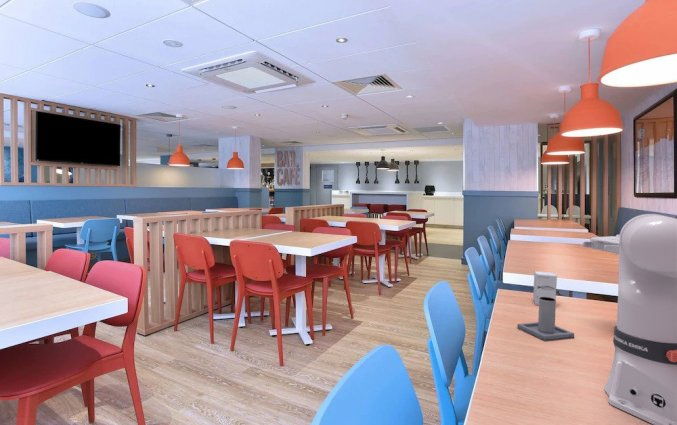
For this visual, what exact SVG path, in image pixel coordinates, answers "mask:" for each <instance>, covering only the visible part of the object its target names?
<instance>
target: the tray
mask: <svg viewBox="0 0 677 425" xmlns="http://www.w3.org/2000/svg"><path fill="white" fill-rule="evenodd" d="M516 328H517V329H518V330H520V331H521V332H524V333H526V334H527V335H530V336H532V337H534V338H537V339H539V340H541V341H543V342H550V341H552V342H553V341H560V340H561V341H562V340H571V339H575V332H572V331H570V330H567V329H564V328H563V327H559V326H557V325H555V332H554V333H552V334H548V333H543V332H540V331H539V330H538V321H535V322H526V323H517V327H516Z"/></svg>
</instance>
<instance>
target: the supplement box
mask: <svg viewBox="0 0 677 425" xmlns="http://www.w3.org/2000/svg"><path fill="white" fill-rule="evenodd" d="M533 272H534V274H533V295H532V296H533V297H532V298H533V299H532V300H533V303H535V304H534V305H535V306H539V298H540V297H549V298H553V299H555V300H556V301H557V283H558V281H557V280H558V275H557V274H556V273H555V272H549V271H537V270H535V271H533Z"/></svg>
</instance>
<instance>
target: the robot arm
mask: <svg viewBox="0 0 677 425" xmlns="http://www.w3.org/2000/svg"><path fill="white" fill-rule="evenodd" d="M582 247H583V248H589V249H592V250H598V251H602V252H607V253H610V254H616V255H618V282H617V284H618V285H617V286H618V288H617V291H618V292H617V309H616V310H617V313H616V325H615V326H614V327H613V328H614V329H613V345H614V353H613V360H612V364H611V369H610V372H609V375H608V378H607V381H606V383H605V385H604V390H605V393H606V395H607V396H608V404H609V405H611V406H613V407H615V408H617V409H619V410H621V411H624V412H626V413H628V414H631V415H632V416H635V417H636V418H639V419H641V420H643V421H645V422H648V423H650V424H652V425H677V215H676V216H675V217H671V216H667V215H662V214H656V213H645V214H644V213H643V214H640V215H636V216H635V217H633V218H631V219H629V220H628V221H626V223H625V224H624V225H623V226H622V228H621V229H620V232H619V234H616V235H615V236H614V235H613V236H596V237H595V236H593V237H591V238H590V240H589V241H588V240H587V241H585V240H584V241H583V242H582Z"/></svg>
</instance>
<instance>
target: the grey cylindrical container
mask: <svg viewBox="0 0 677 425" xmlns="http://www.w3.org/2000/svg"><path fill="white" fill-rule="evenodd" d="M556 303H557V299H556V300H555V299H553V298H549V297H540V298H539V305H538V320H537V322H538V330H539V331H540V332H543V333H548V334H552V333H554V332H555V326H556V309H557V306H556V305H557V304H556Z"/></svg>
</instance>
